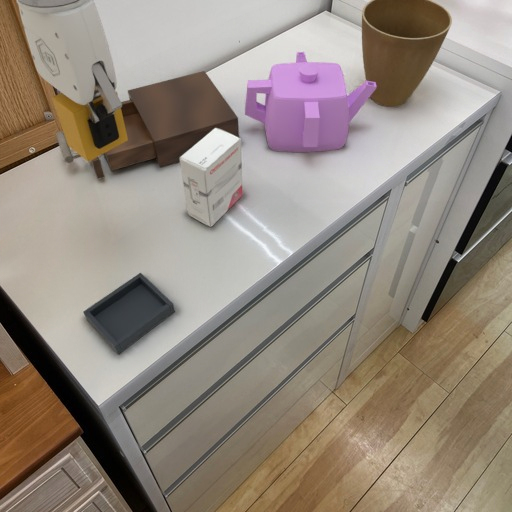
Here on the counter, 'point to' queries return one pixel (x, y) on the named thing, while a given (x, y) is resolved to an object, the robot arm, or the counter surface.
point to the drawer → (125, 153)
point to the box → (84, 126)
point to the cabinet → (182, 114)
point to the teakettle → (305, 105)
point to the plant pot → (401, 45)
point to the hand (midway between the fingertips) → (94, 131)
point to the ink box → (212, 176)
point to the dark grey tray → (129, 312)
